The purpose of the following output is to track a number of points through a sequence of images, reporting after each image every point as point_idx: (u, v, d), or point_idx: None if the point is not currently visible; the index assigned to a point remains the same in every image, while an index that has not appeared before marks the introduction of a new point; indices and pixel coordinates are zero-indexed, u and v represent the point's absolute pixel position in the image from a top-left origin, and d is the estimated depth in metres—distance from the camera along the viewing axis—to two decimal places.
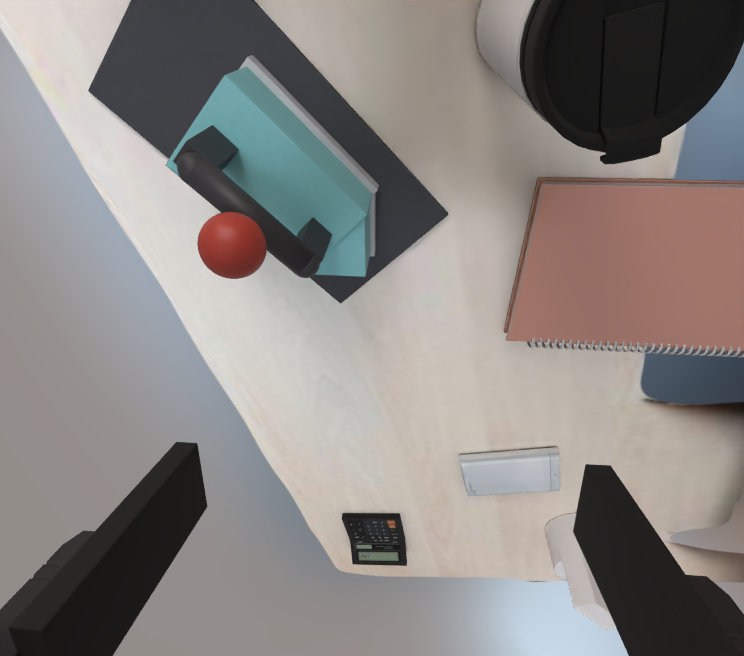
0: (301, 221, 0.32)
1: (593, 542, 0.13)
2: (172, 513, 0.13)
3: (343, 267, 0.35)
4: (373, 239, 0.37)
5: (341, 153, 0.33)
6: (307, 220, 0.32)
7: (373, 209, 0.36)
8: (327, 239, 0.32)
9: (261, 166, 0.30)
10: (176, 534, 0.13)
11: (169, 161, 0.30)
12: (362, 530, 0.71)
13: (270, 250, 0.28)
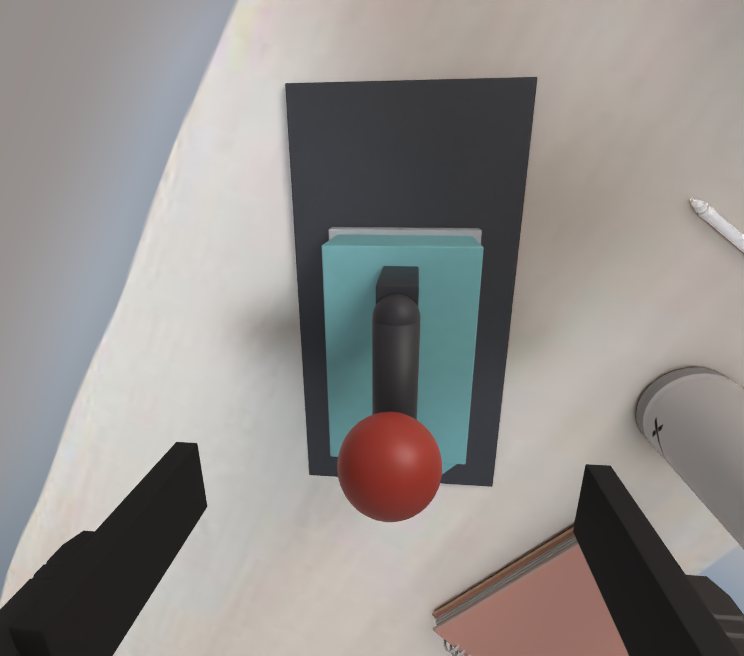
0: None
1: (593, 542, 0.13)
2: (171, 513, 0.13)
3: None
4: None
5: None
6: None
7: None
8: None
9: None
10: (175, 534, 0.13)
11: (331, 247, 0.21)
12: None
13: None
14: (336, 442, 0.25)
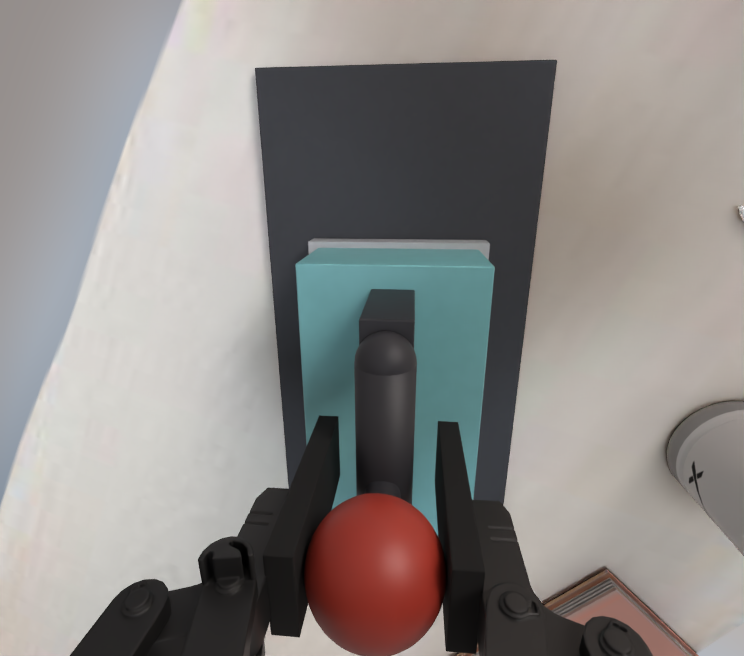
0: None
1: (437, 484, 0.15)
2: (329, 476, 0.15)
3: None
4: None
5: None
6: None
7: None
8: None
9: (415, 378, 0.19)
10: (330, 495, 0.15)
11: (306, 266, 0.17)
12: None
13: None
14: None
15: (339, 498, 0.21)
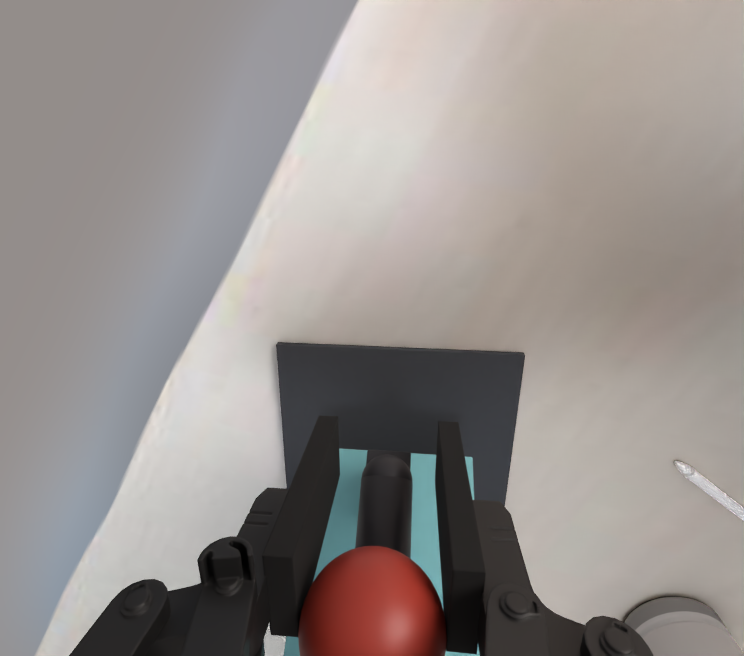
0: None
1: (437, 484, 0.15)
2: (329, 475, 0.15)
3: None
4: None
5: None
6: None
7: None
8: None
9: None
10: (330, 496, 0.15)
11: None
12: None
13: None
14: None
15: None
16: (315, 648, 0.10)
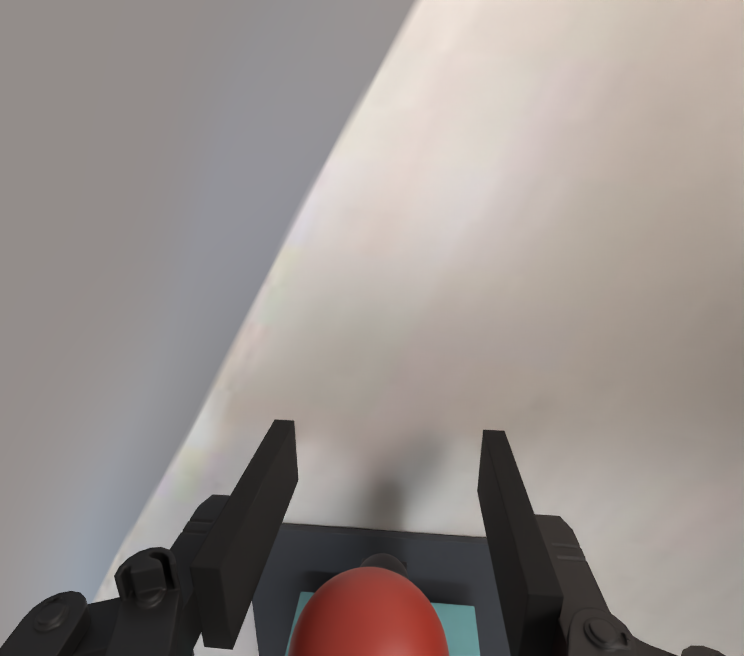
0: None
1: (485, 496, 0.15)
2: (281, 481, 0.15)
3: None
4: None
5: None
6: None
7: None
8: None
9: None
10: (282, 501, 0.15)
11: (310, 593, 0.20)
12: None
13: None
14: None
15: None
16: (310, 635, 0.09)
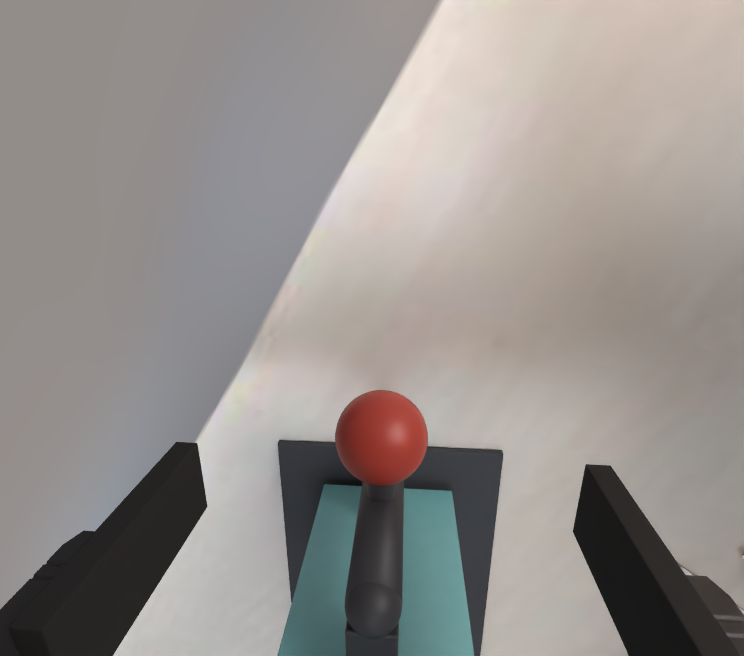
0: None
1: (593, 542, 0.13)
2: (172, 513, 0.13)
3: None
4: None
5: None
6: None
7: None
8: None
9: (403, 554, 0.22)
10: (176, 534, 0.13)
11: (331, 485, 0.27)
12: None
13: (366, 529, 0.17)
14: None
15: None
16: (350, 410, 0.17)
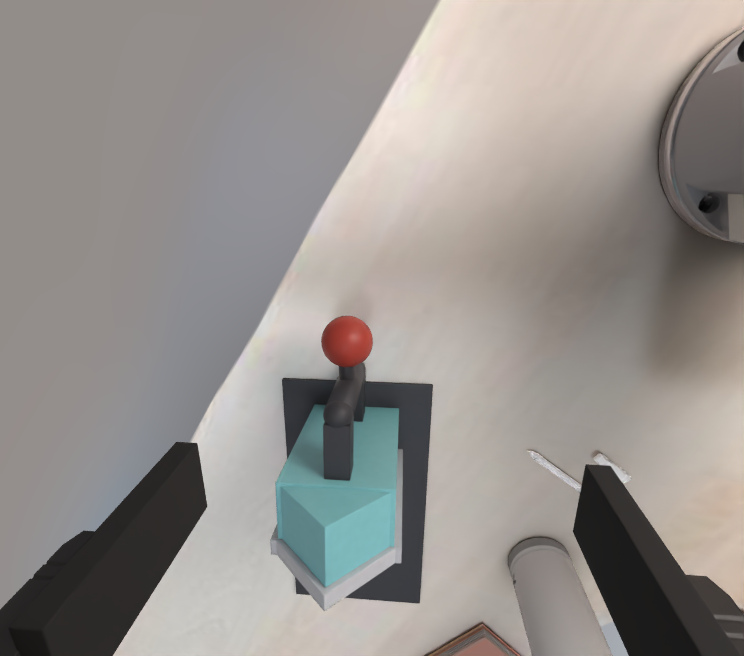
0: None
1: (593, 542, 0.13)
2: (172, 513, 0.13)
3: (319, 506, 0.26)
4: (345, 579, 0.26)
5: (401, 510, 0.32)
6: None
7: (379, 557, 0.28)
8: (350, 462, 0.29)
9: (362, 431, 0.35)
10: (175, 534, 0.13)
11: None
12: None
13: (336, 388, 0.30)
14: (285, 474, 0.29)
15: (301, 475, 0.29)
16: (330, 323, 0.31)
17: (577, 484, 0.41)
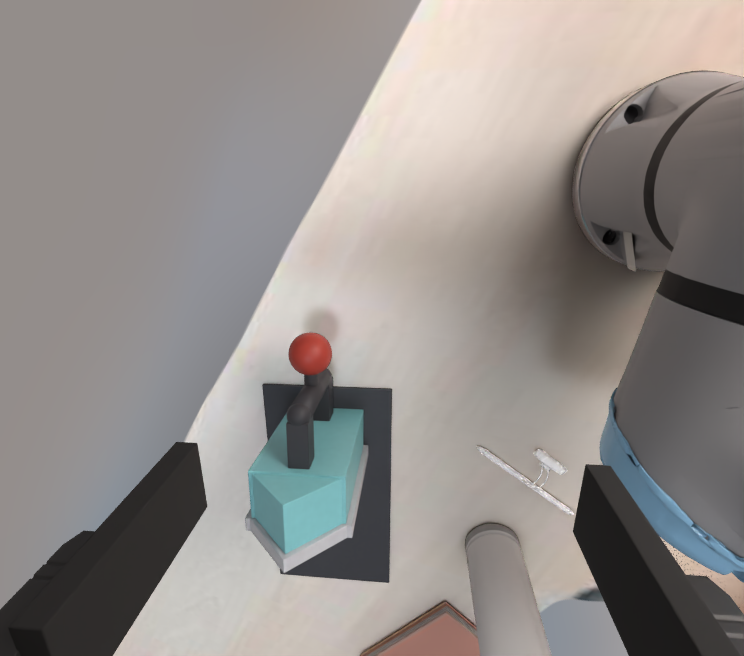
0: None
1: (593, 542, 0.13)
2: (171, 513, 0.13)
3: (281, 489, 0.32)
4: (302, 548, 0.32)
5: (357, 495, 0.39)
6: None
7: (332, 532, 0.34)
8: (309, 454, 0.35)
9: (327, 429, 0.41)
10: (176, 534, 0.13)
11: None
12: None
13: (300, 393, 0.37)
14: (257, 464, 0.35)
15: (269, 465, 0.35)
16: (295, 339, 0.37)
17: (521, 476, 0.47)
